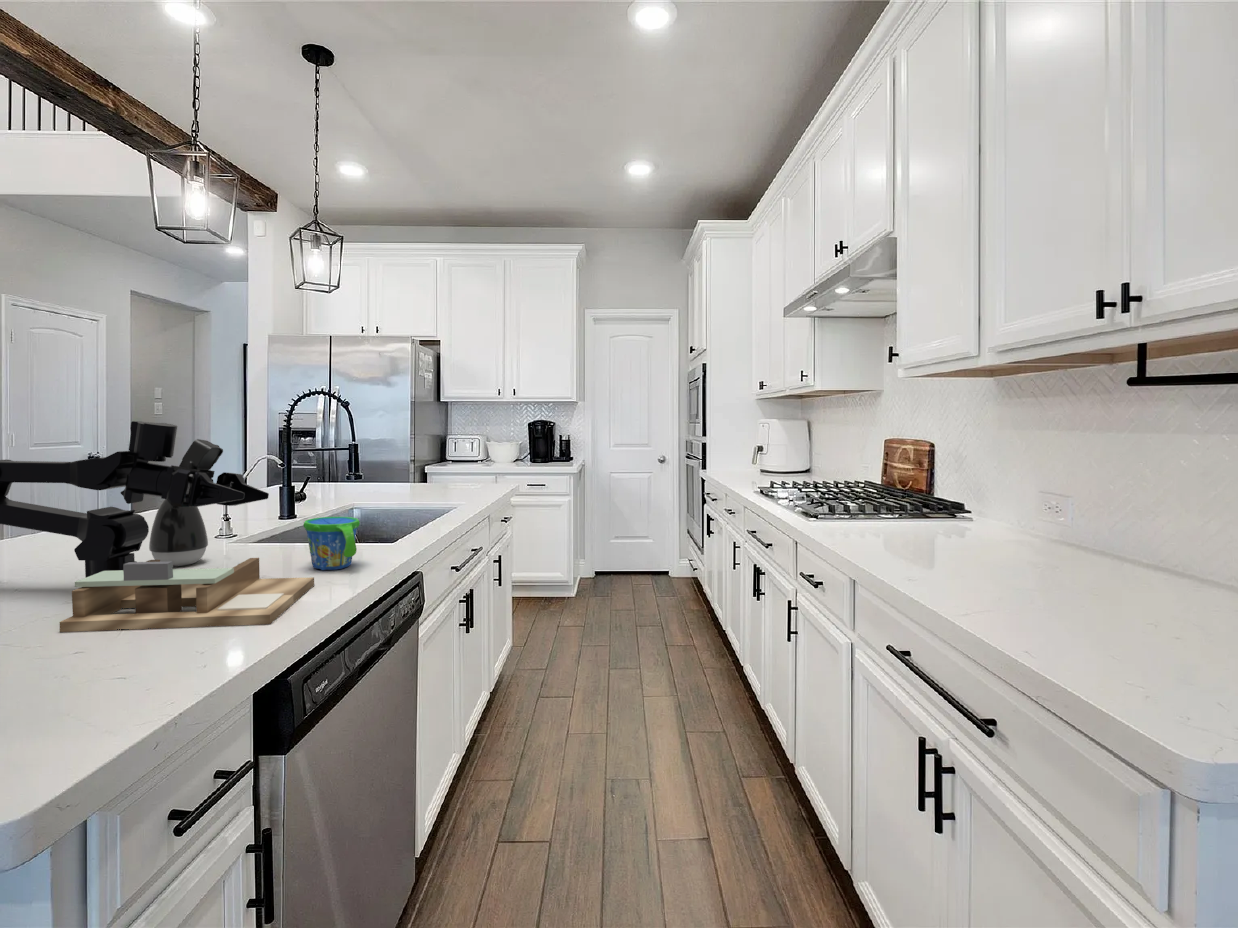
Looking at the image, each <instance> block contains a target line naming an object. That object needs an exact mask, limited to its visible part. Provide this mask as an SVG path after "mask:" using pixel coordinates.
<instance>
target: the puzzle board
mask: <svg viewBox="0 0 1238 928" xmlns="http://www.w3.org/2000/svg"><path fill="white" fill-rule="evenodd" d="M145 562H160V560H155V559H149V560H146V561H145ZM232 568H234V573H232V574H231V575H229V576H227V577H225V578H224V579H222V580H220V581H218V582H217V583H215V584H181V592H182V608H190V607H191V608H192V607H193V608H194V607H196V611H180V612H166V613H136V612H135V613H116V612H118V611H119V610H125V609H124V608H136V606H135V588H137V587H140V586H142V585H138V586H99V587H77V588H76V589H73V590H72V591H71V603H72V604H71V605H72V616H70V617H67V618H65V619H63V620H61V621H59V632H60V633H67V632H69V633H71V632H96V631H98V632H99V631H100V632H101V631H103V632H104V631H122V630H121V629H129V630H145V629H146V630H149V629H150V628H151V629H152V630H153V628H156V629H174V628H175V629H177V628H178V629H179V628H181V629H182V628H202V627H204V628H205V627H229V626H257V625H261V626H262V625H271V624H272V623H273V622H275V620H277V618H279V617H280V616H282V614H283V613H284V612H286V611H287V610H288V609H289V608H290V607H291V606H292V605H293V604H295V603H296V602H297V601H298V600H299V599H300V598H301V597H302V596H304V595H305V594H306V593H307V592H308V591H310V590H311V589H312V588H313V587H314V586H315V577H311V576H310V577H279V578H278V577H277V578H260V576H261V575H260V557H250V558H248V559H246V560H244V561H242V562H240V563H238V564H237V565H235V566H233V567H232ZM280 593H284V595H283V596H282V597H281V598H280V599H278V600H277V601H276V602H275V603H274V604H272V605H271V606H270V607H269V608H267V609H255V610H225V611H218V608H220V607H221V606H223V605H224V604H226V603H227V602H229V601H230V600H232V599H233V598H235V597H236V596H238V595H246V594H280ZM121 608H123V609H121ZM115 611H116V612H115ZM148 628H149V629H148ZM117 629H118V630H117ZM119 629H120V630H119ZM151 629H150V630H151Z"/></svg>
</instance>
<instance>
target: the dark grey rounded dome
mask: <svg viewBox="0 0 1238 928" xmlns="http://www.w3.org/2000/svg"><path fill="white" fill-rule="evenodd" d="M184 502H186V501H184ZM148 546H149V547H148V549H149V551H150V552H151V555H152V557H153V560H160V562H168V561H173V568H175V567H185V566H190V565H193V564H195V563H197V562H199V560H201V559H202V558H203V556H204V555H205V553H206V550H207V547H208V546H209V539H208V535H207V529H206V525H205V522H204V519H203V516H202V514H201V511H200V509H199V507H179V506H173V505H170V503H169V502H168V501H167V499H164V500H163V501H162V502H161V504H160V505H159V507H158V509H157V512H156V514H155V517H154V520H153V524H152V526H151V531H150V536H149V544H148Z"/></svg>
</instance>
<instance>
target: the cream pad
mask: <svg viewBox="0 0 1238 928" xmlns="http://www.w3.org/2000/svg"><path fill="white" fill-rule="evenodd" d="M283 595H284V593H280V594H246V595H238V596H236V597H235V598H233V599H232V600H230V601H229V602H227V603H226V604H224V605H223V606H221V607H220V608H218V611H225V610H255V609H267V608H269V607H270V606H271V605H272V604H274V603H275V602H276V601H277V600H278V599H280V598H281V597H282V596H283Z"/></svg>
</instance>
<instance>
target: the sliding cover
mask: <svg viewBox="0 0 1238 928" xmlns="http://www.w3.org/2000/svg"><path fill="white" fill-rule="evenodd" d="M232 573H234V568H233V567H221V568H219V567H217V568H174V567H173V561H168V562H146V561H136V562H128V563H126V564H123V570H117V571H102V572H99V573H97V574H94V575H91V576H89V577H86V578H85V577H84V578H81V579H78V580H76V581H74V588H81V587H99V586H138V585H176V584H215V583H217V582H218V581H220V580H222V579H224V578H225V577H227V576H229V575H231V574H232Z"/></svg>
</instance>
